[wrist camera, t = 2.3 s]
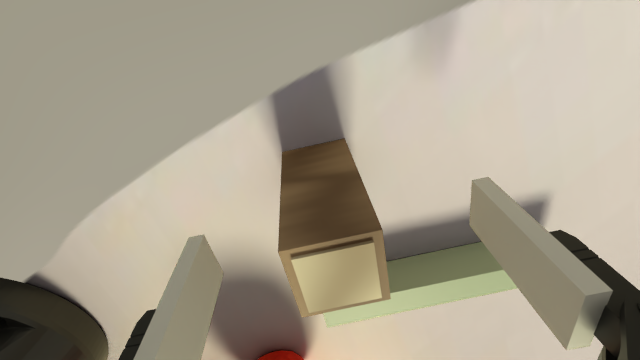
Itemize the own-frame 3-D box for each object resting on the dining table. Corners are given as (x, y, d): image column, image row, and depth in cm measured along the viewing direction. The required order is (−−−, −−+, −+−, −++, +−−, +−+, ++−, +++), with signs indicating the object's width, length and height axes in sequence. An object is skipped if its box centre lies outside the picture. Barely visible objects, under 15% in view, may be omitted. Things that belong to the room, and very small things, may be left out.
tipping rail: (323, 295, 26) (327, 327, 24) (317, 276, 25) (321, 307, 23) (534, 251, 26) (561, 279, 23) (538, 229, 25) (567, 256, 22)
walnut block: (297, 203, 21) (302, 320, 14) (282, 152, 19) (278, 254, 12) (353, 191, 21) (392, 301, 13) (344, 138, 19) (383, 232, 11)
